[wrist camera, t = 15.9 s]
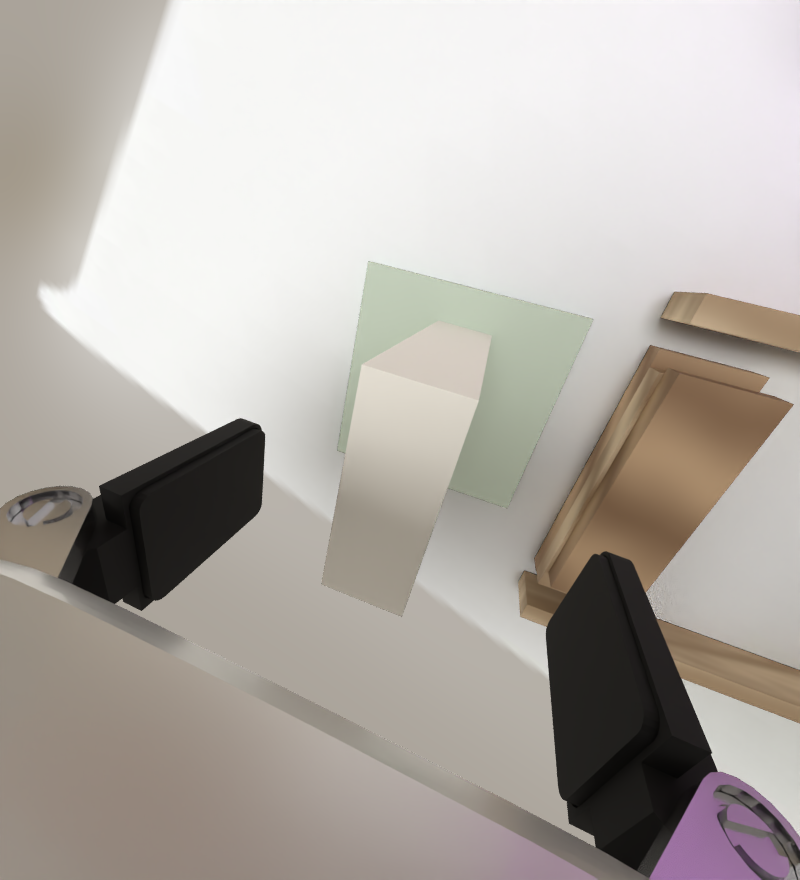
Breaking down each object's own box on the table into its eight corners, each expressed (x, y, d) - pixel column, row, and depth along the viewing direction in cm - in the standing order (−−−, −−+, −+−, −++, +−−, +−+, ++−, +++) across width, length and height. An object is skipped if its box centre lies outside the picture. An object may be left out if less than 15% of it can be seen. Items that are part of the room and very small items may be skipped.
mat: (371, 261, 20) (368, 261, 19) (590, 318, 18) (593, 319, 17) (340, 446, 25) (337, 450, 24) (506, 503, 23) (507, 508, 23)
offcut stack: (650, 345, 18) (682, 358, 15) (753, 372, 17) (810, 391, 14) (534, 558, 24) (539, 599, 21) (605, 583, 24) (620, 630, 21)
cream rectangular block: (438, 320, 19) (361, 364, 9) (492, 335, 19) (478, 400, 8) (404, 445, 23) (321, 584, 12) (449, 460, 23) (401, 616, 12)
